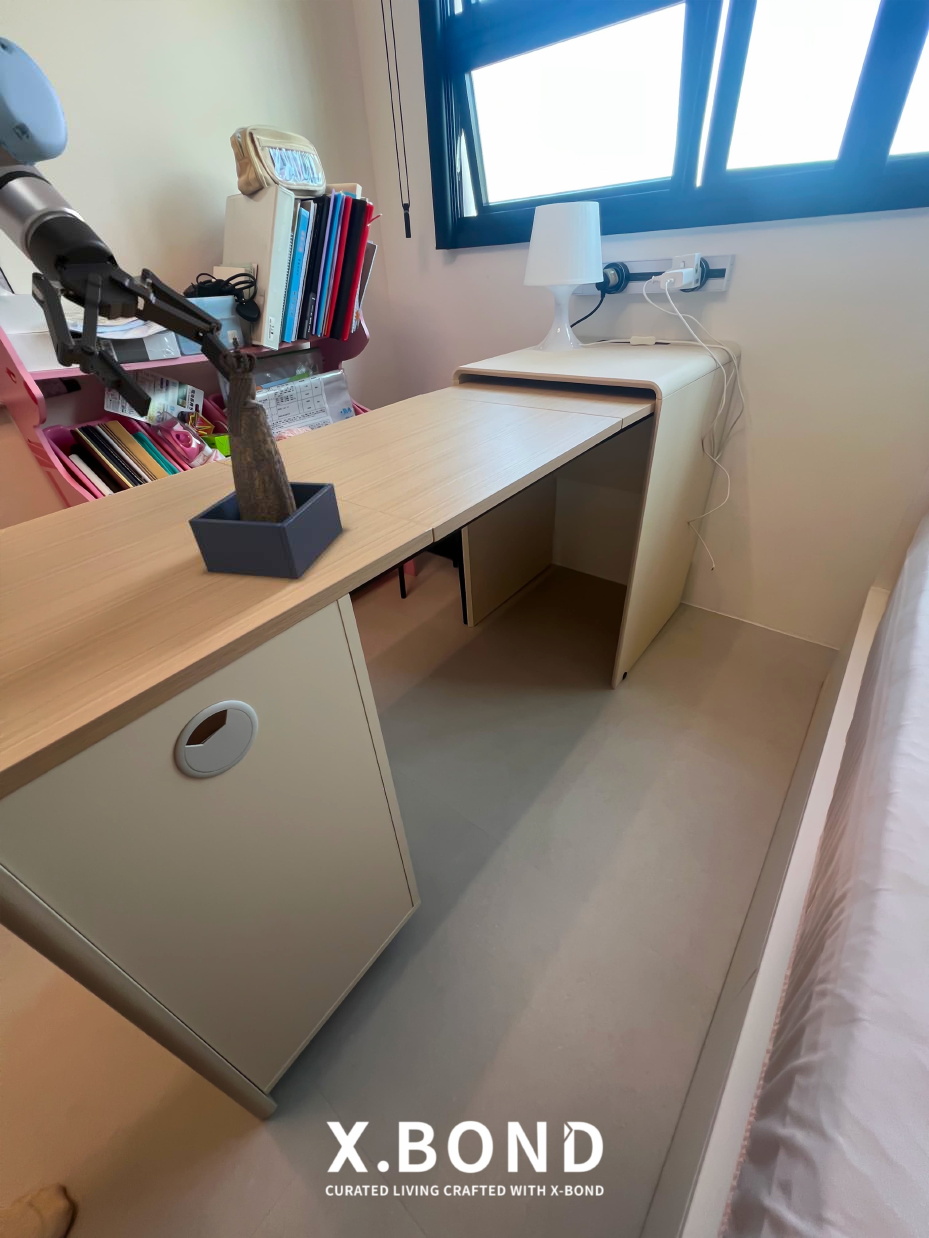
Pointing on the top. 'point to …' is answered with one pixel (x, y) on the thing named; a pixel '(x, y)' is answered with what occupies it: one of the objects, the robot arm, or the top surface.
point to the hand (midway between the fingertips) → (198, 395)
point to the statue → (254, 447)
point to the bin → (269, 534)
